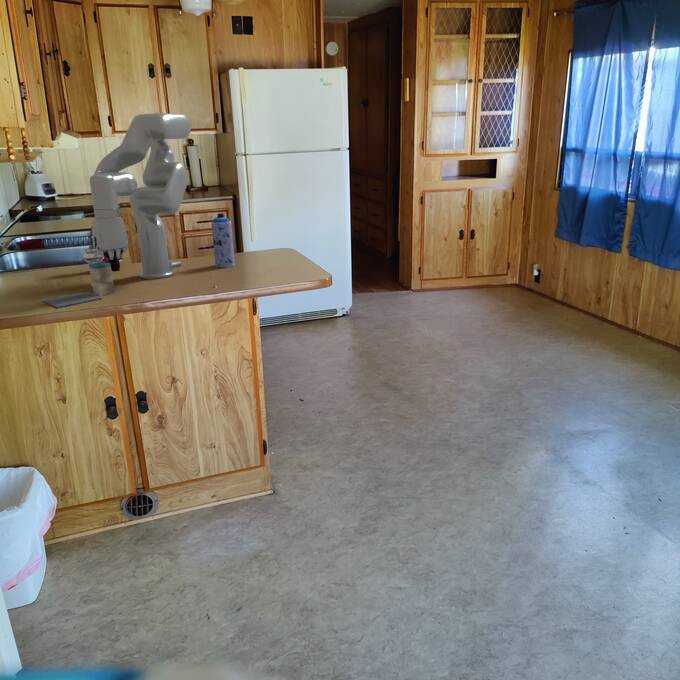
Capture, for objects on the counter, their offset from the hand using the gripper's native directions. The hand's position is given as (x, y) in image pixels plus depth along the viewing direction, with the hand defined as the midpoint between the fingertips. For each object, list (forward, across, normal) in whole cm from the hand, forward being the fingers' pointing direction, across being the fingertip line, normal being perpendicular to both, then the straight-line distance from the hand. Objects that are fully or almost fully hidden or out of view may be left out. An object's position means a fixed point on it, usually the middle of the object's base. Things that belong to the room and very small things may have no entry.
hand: (115, 270), depth 200 cm
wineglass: (+7, 0, -16) cm, 18 cm away
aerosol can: (+6, -46, -5) cm, 47 cm away
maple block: (+7, +5, 0) cm, 8 cm away
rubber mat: (+7, +15, 0) cm, 17 cm away
